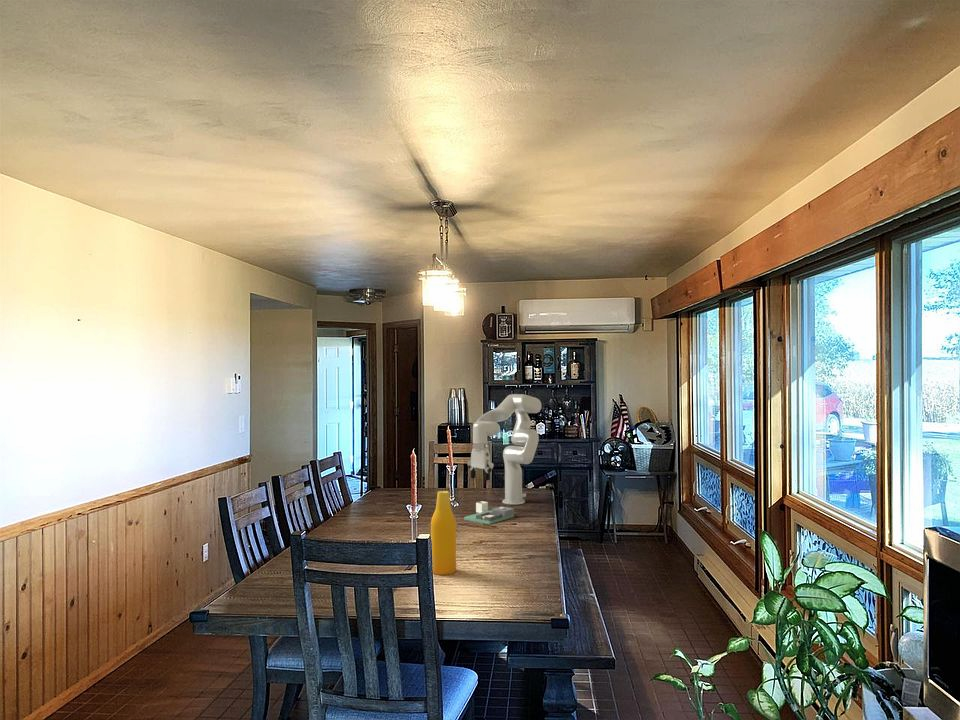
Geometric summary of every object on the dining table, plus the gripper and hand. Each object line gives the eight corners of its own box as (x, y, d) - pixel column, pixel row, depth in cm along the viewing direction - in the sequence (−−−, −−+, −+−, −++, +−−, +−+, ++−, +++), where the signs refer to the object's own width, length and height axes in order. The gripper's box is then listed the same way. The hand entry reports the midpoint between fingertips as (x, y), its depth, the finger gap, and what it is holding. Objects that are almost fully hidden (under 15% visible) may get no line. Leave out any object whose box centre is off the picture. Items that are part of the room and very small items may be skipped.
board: (489, 512, 332) (489, 510, 332) (514, 516, 321) (514, 514, 321) (464, 519, 316) (464, 517, 316) (489, 524, 306) (489, 521, 306)
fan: (501, 512, 326) (501, 505, 327) (514, 514, 321) (514, 507, 321) (491, 515, 320) (491, 507, 320) (504, 517, 315) (504, 510, 315)
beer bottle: (442, 566, 240) (442, 488, 241) (461, 570, 234) (461, 491, 235) (425, 572, 233) (425, 492, 234) (444, 577, 227) (444, 495, 228)
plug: (482, 510, 336) (482, 500, 337) (488, 511, 334) (488, 501, 334) (476, 512, 333) (476, 501, 333) (482, 513, 330) (482, 502, 330)
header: (488, 515, 320) (488, 511, 320) (501, 517, 315) (501, 514, 315) (476, 518, 313) (476, 515, 313) (489, 521, 307) (489, 517, 307)
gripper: (497, 446, 330) (497, 480, 330) (472, 444, 341) (472, 476, 341) (488, 448, 325) (488, 482, 324) (462, 445, 336) (463, 478, 335)
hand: (480, 479), depth 333 cm, fingers open, 9 cm apart
